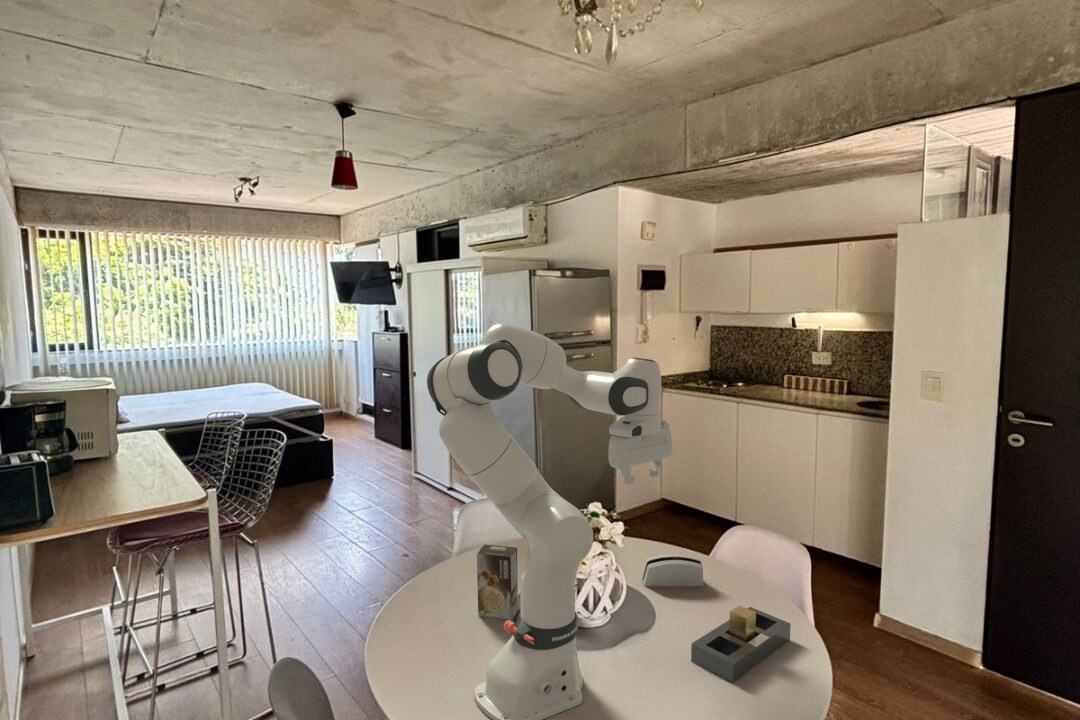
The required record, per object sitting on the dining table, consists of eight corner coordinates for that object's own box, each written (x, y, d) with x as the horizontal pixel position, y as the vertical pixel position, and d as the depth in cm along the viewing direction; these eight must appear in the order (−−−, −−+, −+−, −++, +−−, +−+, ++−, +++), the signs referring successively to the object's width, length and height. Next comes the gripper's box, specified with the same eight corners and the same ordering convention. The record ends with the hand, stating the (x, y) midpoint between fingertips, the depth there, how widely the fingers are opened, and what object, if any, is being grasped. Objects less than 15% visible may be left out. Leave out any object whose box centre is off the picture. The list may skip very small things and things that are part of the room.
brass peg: (745, 658, 128) (746, 618, 127) (728, 650, 131) (729, 611, 130) (754, 651, 130) (756, 612, 130) (738, 643, 133) (739, 605, 133)
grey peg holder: (732, 683, 119) (733, 664, 119) (691, 661, 127) (691, 643, 126) (789, 640, 135) (790, 622, 134) (749, 622, 142) (750, 606, 142)
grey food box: (519, 608, 150) (519, 546, 148) (512, 620, 143) (511, 557, 142) (485, 603, 152) (484, 543, 150) (476, 616, 146) (475, 553, 144)
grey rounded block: (699, 578, 166) (703, 550, 162) (703, 591, 162) (707, 563, 158) (640, 577, 166) (642, 550, 162) (642, 590, 162) (645, 563, 158)
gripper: (658, 417, 151) (657, 470, 153) (604, 427, 138) (603, 485, 139) (678, 420, 147) (678, 475, 148) (624, 431, 133) (624, 491, 135)
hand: (641, 480), depth 143 cm, fingers open, 8 cm apart
